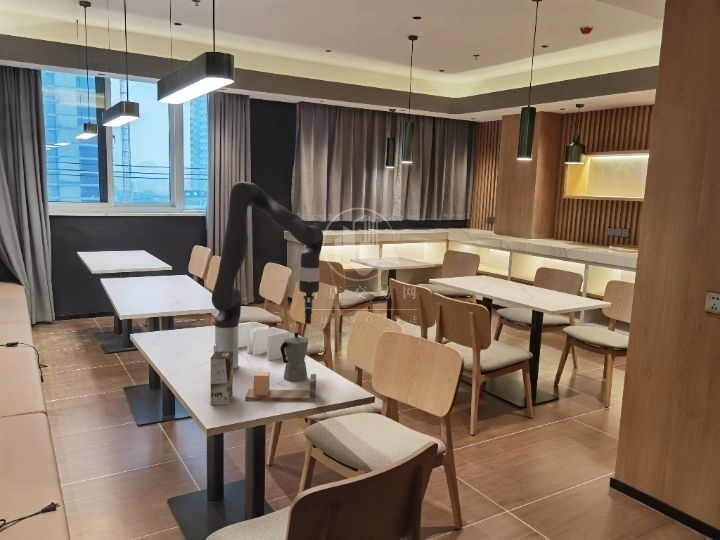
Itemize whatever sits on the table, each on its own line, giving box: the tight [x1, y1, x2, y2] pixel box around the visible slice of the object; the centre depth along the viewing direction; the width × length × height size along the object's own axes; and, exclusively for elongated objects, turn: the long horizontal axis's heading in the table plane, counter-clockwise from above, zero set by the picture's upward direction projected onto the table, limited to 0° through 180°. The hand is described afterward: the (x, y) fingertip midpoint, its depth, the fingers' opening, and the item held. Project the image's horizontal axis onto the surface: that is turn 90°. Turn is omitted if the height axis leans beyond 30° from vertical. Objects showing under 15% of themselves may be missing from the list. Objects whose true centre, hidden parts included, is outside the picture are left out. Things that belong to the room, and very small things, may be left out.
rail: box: [245, 373, 317, 402], centre depth 202 cm, size 24×8×7 cm, turn 93°
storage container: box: [238, 321, 290, 361], centre depth 257 cm, size 25×11×11 cm, turn 48°
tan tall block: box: [252, 371, 271, 395], centre depth 202 cm, size 5×4×7 cm
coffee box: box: [209, 351, 234, 406], centre depth 197 cm, size 9×6×16 cm
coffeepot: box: [280, 332, 309, 382], centre depth 222 cm, size 15×9×18 cm, turn 147°
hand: (308, 321), depth 219 cm, fingers open, 8 cm apart
